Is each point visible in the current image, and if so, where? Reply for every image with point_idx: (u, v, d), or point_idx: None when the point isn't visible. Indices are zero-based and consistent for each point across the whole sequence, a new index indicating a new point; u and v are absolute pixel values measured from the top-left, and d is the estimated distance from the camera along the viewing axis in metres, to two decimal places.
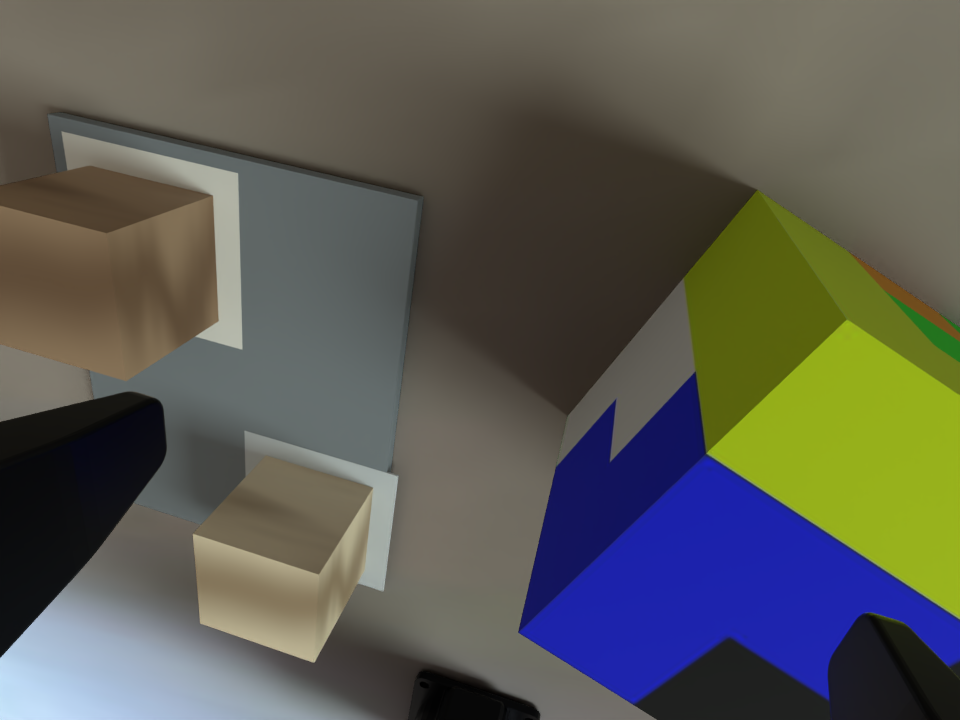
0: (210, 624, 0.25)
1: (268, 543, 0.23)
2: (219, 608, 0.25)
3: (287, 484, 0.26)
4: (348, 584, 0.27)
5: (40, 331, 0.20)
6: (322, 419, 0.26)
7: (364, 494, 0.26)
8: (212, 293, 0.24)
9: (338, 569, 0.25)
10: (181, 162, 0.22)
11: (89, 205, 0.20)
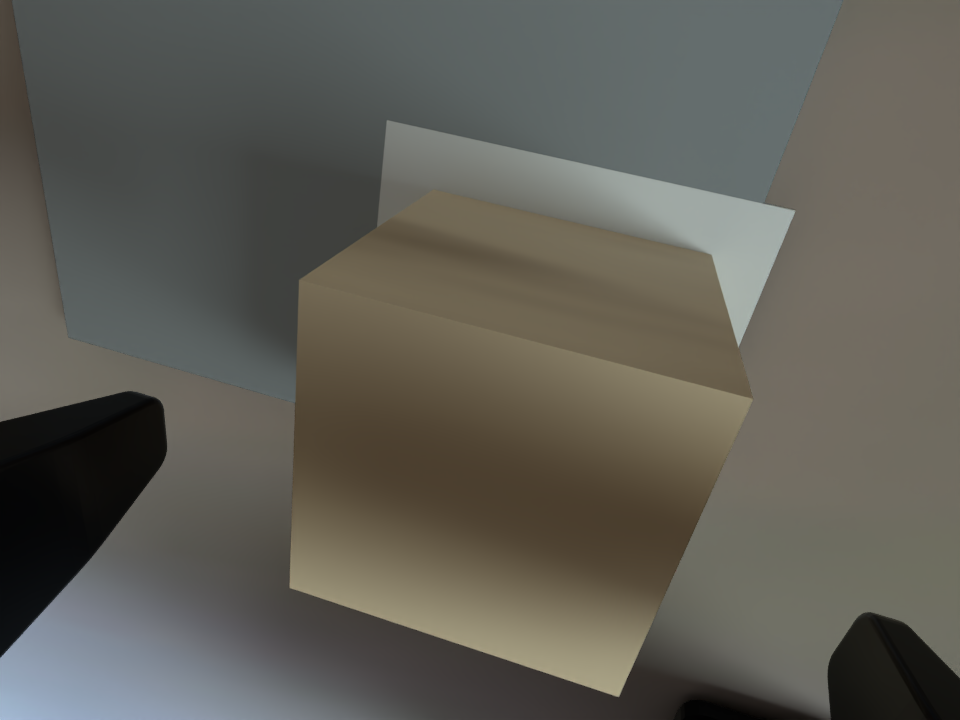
0: (317, 589, 0.09)
1: (538, 318, 0.07)
2: (351, 543, 0.09)
3: (512, 229, 0.10)
4: None
5: None
6: (613, 49, 0.10)
7: (704, 261, 0.10)
8: None
9: None
10: None
11: None
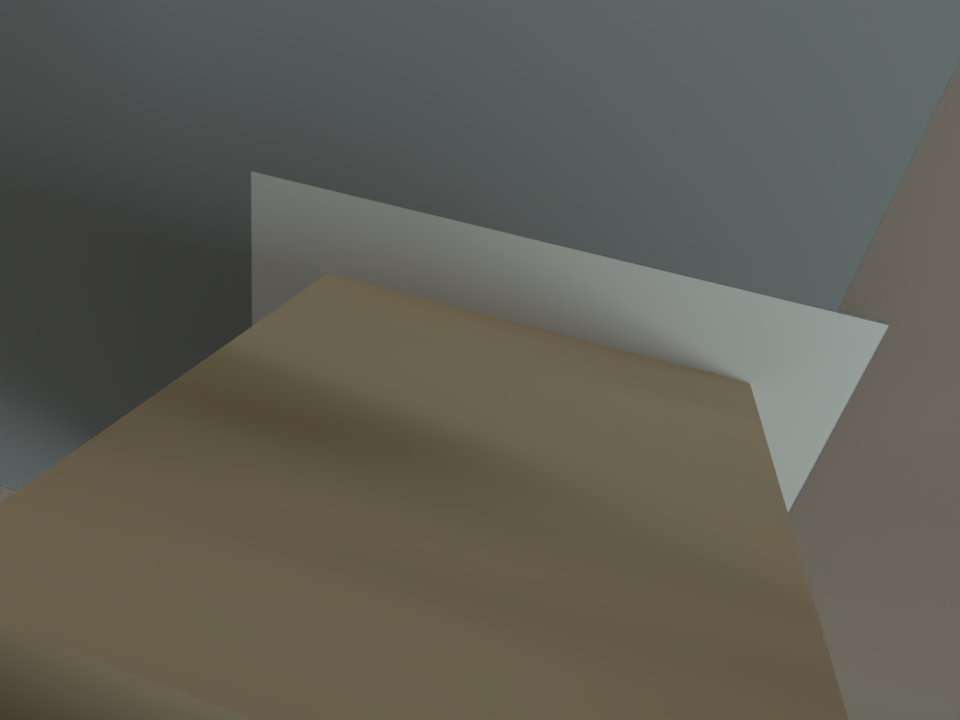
0: None
1: (420, 650, 0.03)
2: None
3: (431, 356, 0.06)
4: None
5: None
6: (594, 65, 0.06)
7: (740, 403, 0.06)
8: None
9: None
10: None
11: None
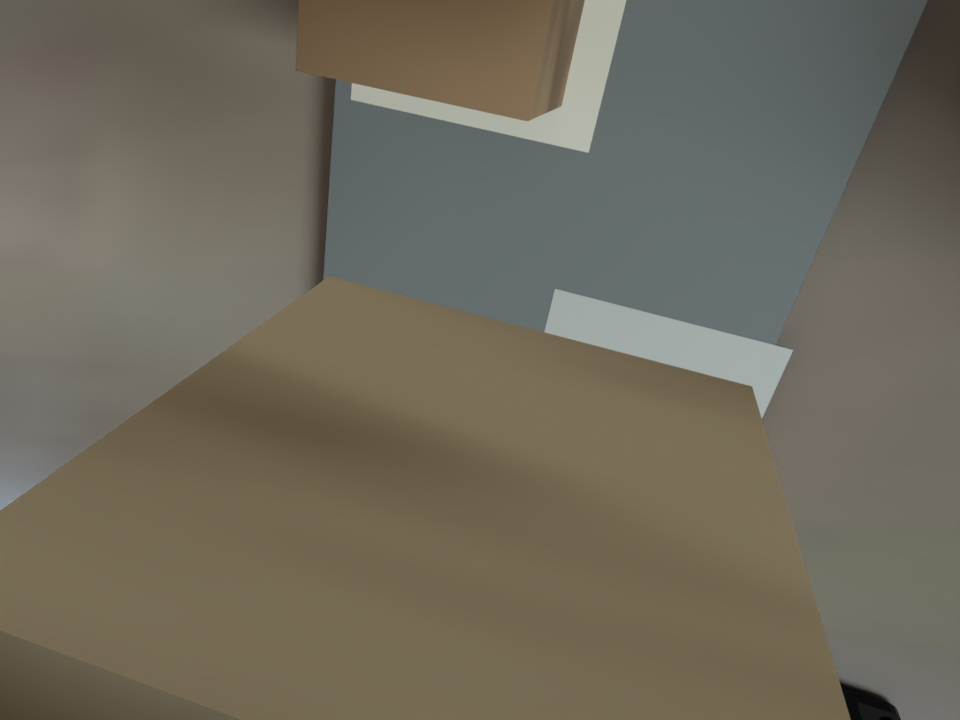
0: None
1: (425, 656, 0.03)
2: None
3: (434, 359, 0.06)
4: None
5: (389, 36, 0.12)
6: (692, 262, 0.18)
7: (742, 406, 0.06)
8: (572, 52, 0.16)
9: None
10: None
11: None
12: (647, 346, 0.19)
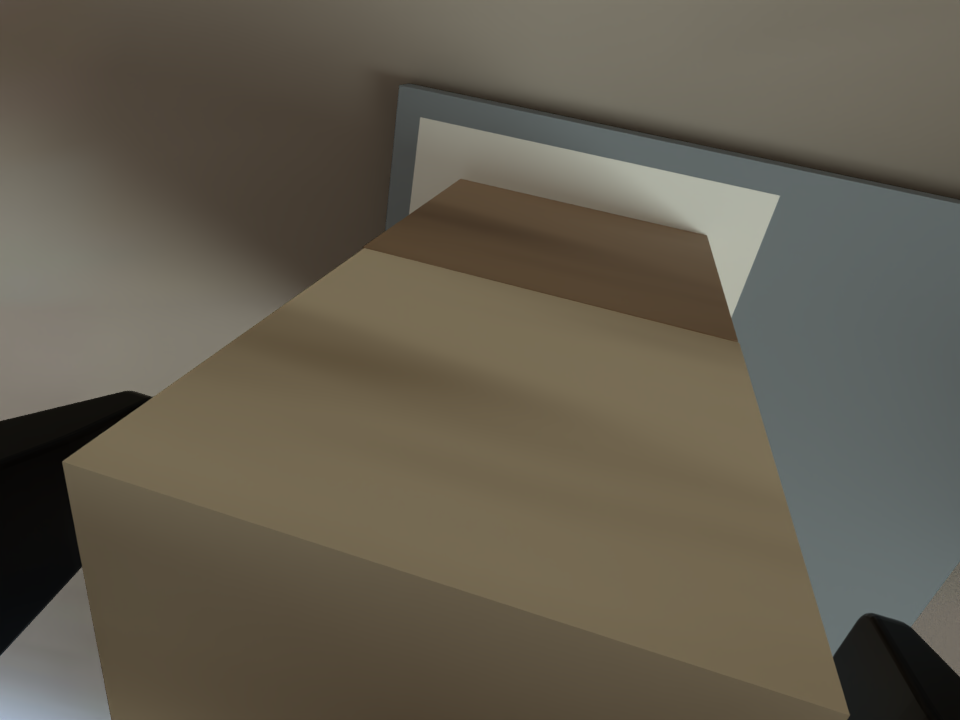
0: None
1: (472, 519, 0.04)
2: None
3: (462, 315, 0.07)
4: None
5: None
6: None
7: (730, 357, 0.07)
8: None
9: None
10: (660, 174, 0.12)
11: (594, 266, 0.09)
12: None
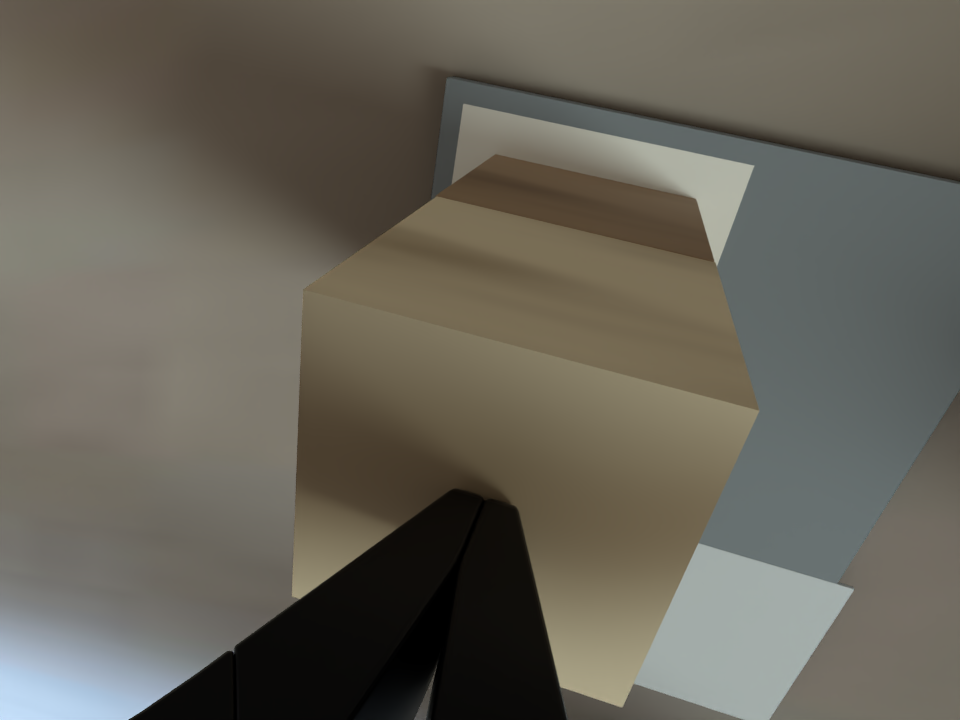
0: None
1: (543, 328, 0.07)
2: (354, 552, 0.09)
3: (516, 237, 0.10)
4: None
5: None
6: (759, 511, 0.18)
7: (708, 269, 0.10)
8: None
9: None
10: (658, 149, 0.15)
11: (607, 214, 0.12)
12: (710, 574, 0.20)
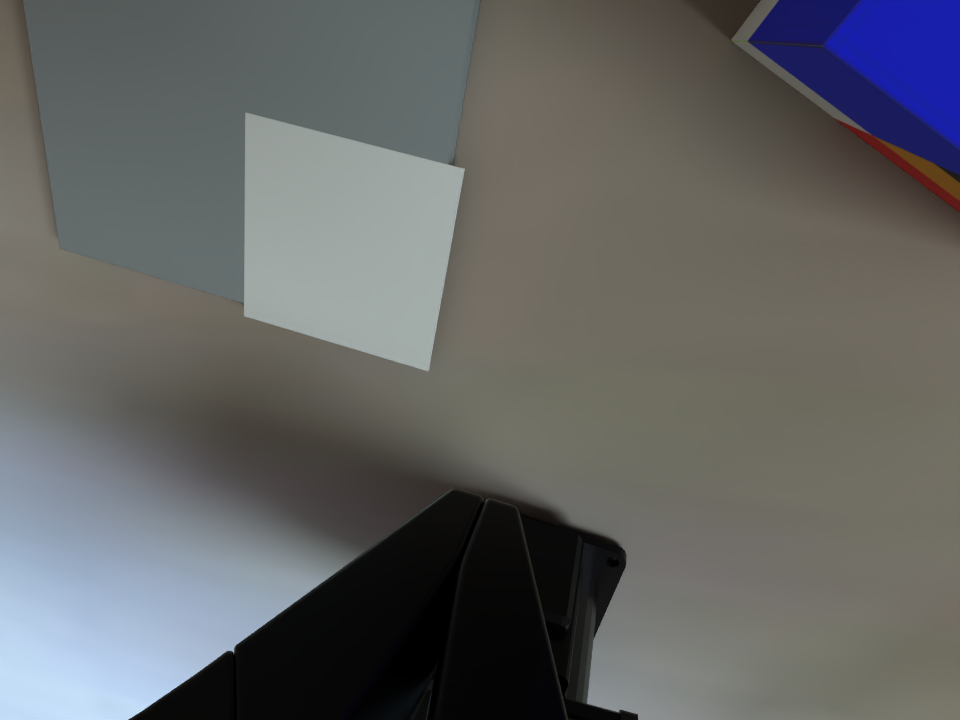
0: None
1: None
2: None
3: None
4: None
5: None
6: (359, 77, 0.18)
7: None
8: None
9: None
10: None
11: None
12: (337, 172, 0.19)
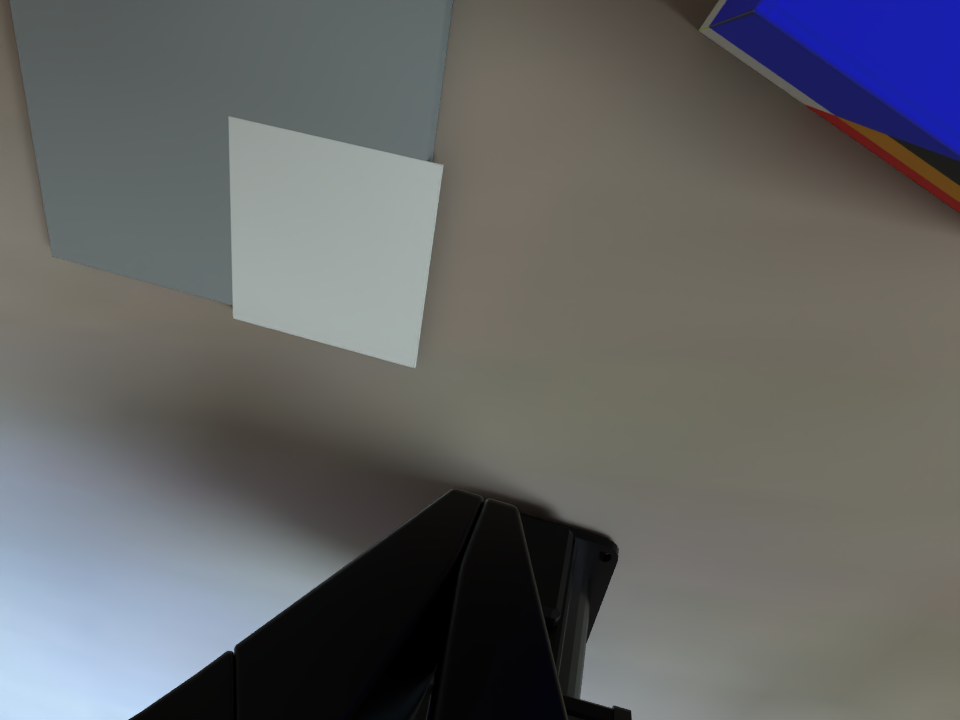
0: None
1: None
2: None
3: None
4: None
5: None
6: (337, 77, 0.18)
7: None
8: None
9: None
10: None
11: None
12: (319, 172, 0.20)
